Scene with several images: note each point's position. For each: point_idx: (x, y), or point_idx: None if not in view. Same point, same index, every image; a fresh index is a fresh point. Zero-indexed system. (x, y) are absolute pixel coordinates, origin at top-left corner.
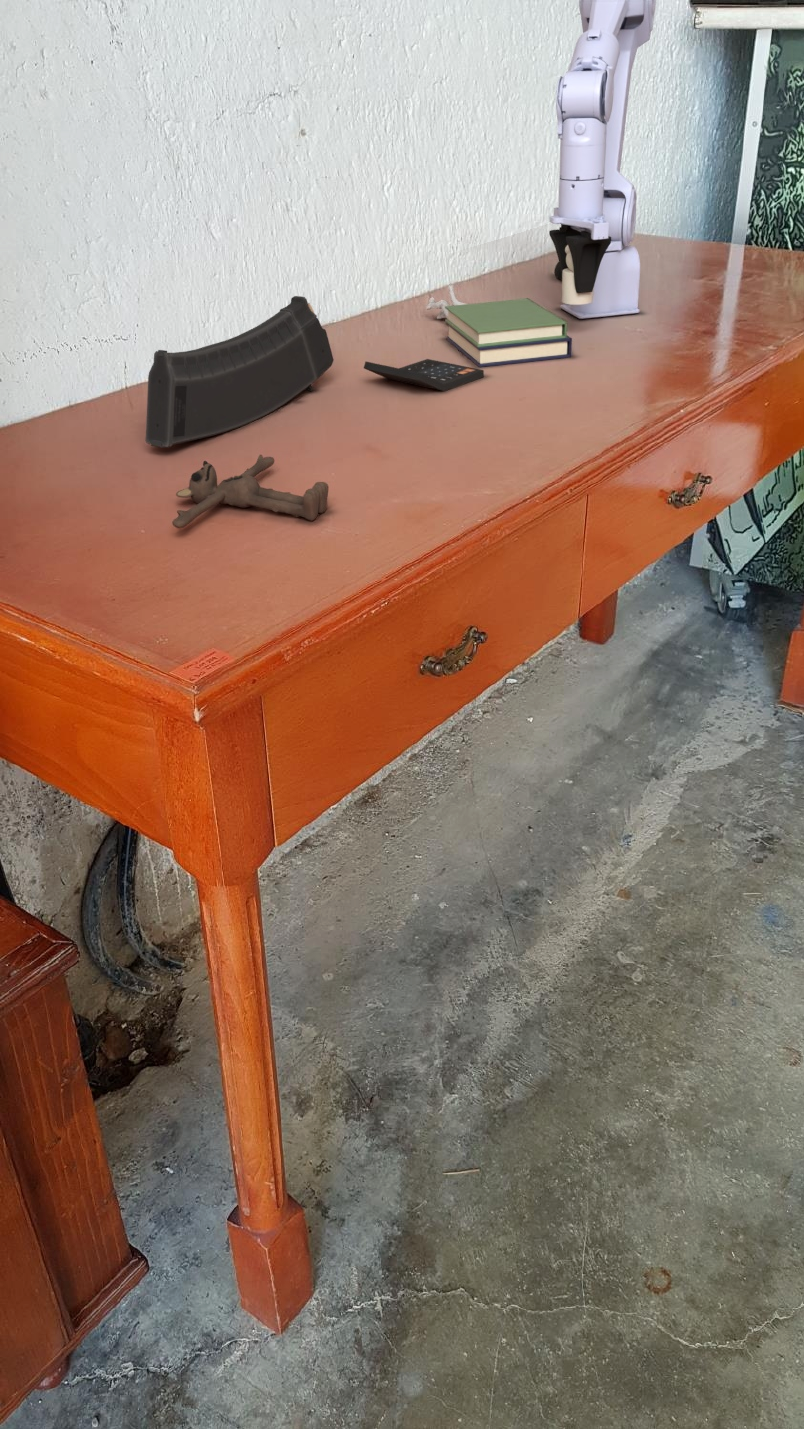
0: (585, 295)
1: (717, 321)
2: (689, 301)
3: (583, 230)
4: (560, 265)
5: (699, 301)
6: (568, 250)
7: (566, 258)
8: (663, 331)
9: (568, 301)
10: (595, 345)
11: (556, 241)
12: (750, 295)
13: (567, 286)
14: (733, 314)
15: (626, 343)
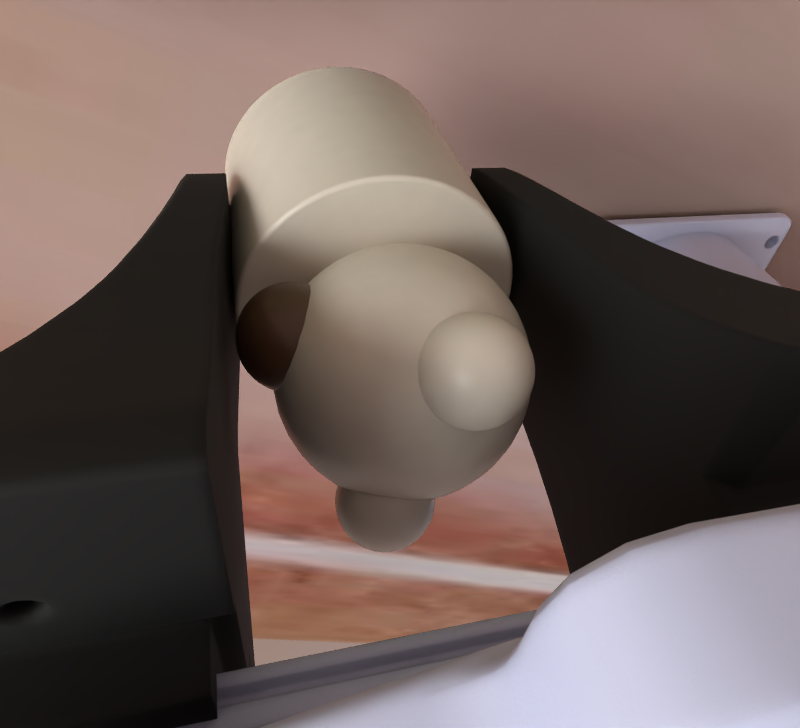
0: None
1: (323, 540)
2: (554, 522)
3: (265, 704)
4: (580, 219)
5: (538, 537)
6: (432, 347)
7: (436, 276)
8: (268, 420)
9: (272, 95)
10: (103, 122)
11: (710, 319)
12: (512, 605)
13: (295, 135)
14: (374, 571)
15: (112, 268)
